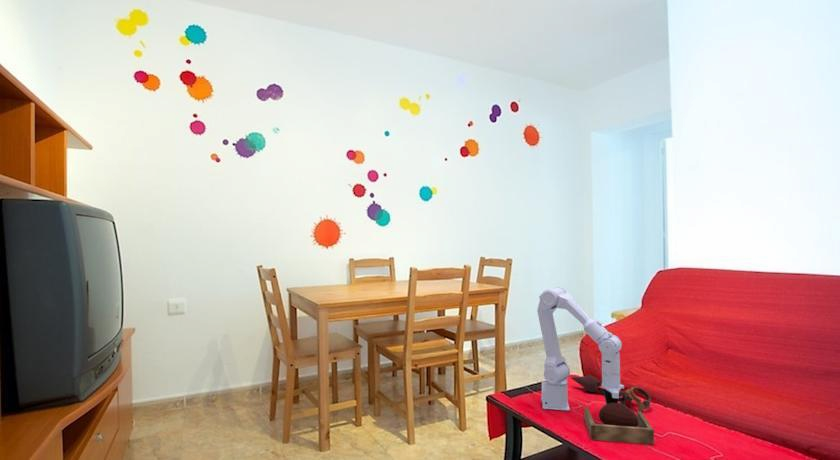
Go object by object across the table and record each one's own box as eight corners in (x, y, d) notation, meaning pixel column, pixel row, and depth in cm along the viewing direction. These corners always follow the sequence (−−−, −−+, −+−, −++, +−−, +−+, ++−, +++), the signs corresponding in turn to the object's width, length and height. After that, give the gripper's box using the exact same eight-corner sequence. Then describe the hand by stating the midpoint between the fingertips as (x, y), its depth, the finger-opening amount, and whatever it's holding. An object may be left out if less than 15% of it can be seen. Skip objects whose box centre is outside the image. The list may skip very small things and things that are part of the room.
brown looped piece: (636, 401, 166) (646, 386, 162) (647, 422, 158) (658, 406, 154) (607, 395, 165) (616, 379, 162) (616, 415, 157) (626, 399, 153)
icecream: (567, 374, 178) (604, 386, 168) (574, 366, 183) (611, 376, 173) (567, 389, 180) (604, 401, 169) (575, 380, 185) (611, 391, 175)
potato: (635, 442, 133) (634, 412, 133) (595, 431, 141) (594, 403, 141) (641, 431, 140) (641, 403, 140) (603, 422, 148) (602, 395, 148)
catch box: (591, 439, 136) (591, 425, 136) (584, 420, 149) (584, 407, 149) (654, 444, 132) (653, 429, 132) (641, 424, 145) (640, 411, 145)
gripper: (628, 379, 140) (629, 421, 140) (618, 366, 154) (619, 404, 154) (605, 378, 142) (606, 419, 142) (597, 365, 156) (598, 402, 156)
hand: (611, 411), depth 148 cm, fingers closed
